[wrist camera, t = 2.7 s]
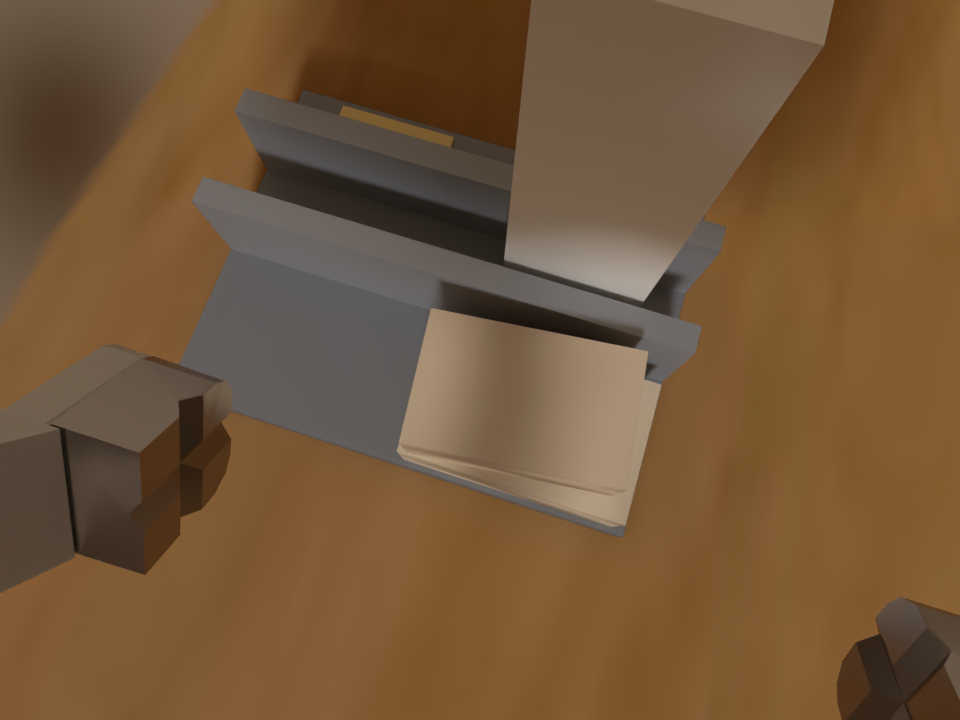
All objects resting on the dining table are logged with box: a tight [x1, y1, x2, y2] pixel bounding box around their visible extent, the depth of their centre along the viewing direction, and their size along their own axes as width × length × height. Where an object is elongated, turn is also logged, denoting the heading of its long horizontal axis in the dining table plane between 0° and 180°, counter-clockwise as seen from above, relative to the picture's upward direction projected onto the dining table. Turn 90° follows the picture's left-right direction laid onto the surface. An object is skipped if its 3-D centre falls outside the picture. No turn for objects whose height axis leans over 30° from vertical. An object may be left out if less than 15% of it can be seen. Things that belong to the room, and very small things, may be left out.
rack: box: [179, 88, 726, 537], centre depth 26 cm, size 18×14×5 cm
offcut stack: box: [397, 308, 661, 527], centre depth 23 cm, size 8×5×5 cm, turn 72°
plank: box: [503, 0, 834, 307], centre depth 19 cm, size 5×2×16 cm, turn 72°
